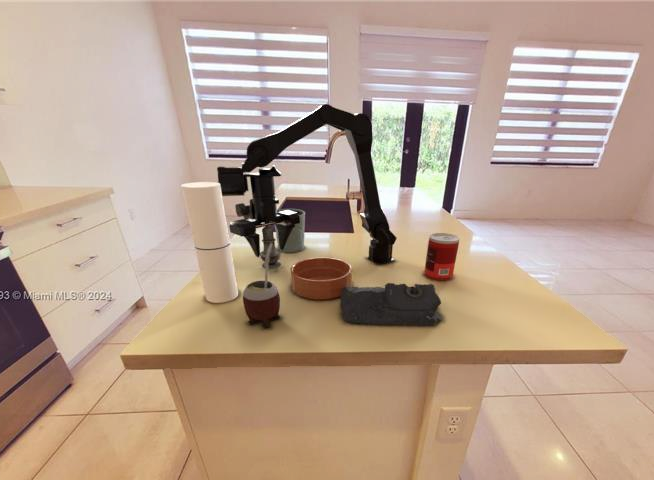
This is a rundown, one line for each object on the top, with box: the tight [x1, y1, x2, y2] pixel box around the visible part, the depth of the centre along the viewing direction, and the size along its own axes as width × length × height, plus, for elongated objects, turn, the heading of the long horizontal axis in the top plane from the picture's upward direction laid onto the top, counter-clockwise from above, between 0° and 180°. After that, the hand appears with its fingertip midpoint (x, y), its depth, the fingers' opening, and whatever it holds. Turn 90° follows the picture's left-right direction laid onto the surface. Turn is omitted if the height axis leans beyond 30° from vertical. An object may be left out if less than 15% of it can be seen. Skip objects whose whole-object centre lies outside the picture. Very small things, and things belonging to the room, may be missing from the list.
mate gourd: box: [242, 243, 281, 329], centre depth 62 cm, size 8×8×15 cm
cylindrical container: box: [180, 181, 239, 304], centre depth 68 cm, size 7×7×25 cm
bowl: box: [289, 257, 353, 300], centre depth 78 cm, size 15×15×5 cm
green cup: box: [274, 208, 306, 253], centre depth 102 cm, size 10×10×12 cm
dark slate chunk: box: [339, 282, 443, 327], centre depth 70 cm, size 15×22×5 cm
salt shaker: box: [260, 225, 282, 270], centre depth 86 cm, size 6×6×12 cm
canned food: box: [424, 232, 460, 281], centre depth 85 cm, size 8×8×11 cm
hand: (270, 253), depth 87 cm, fingers closed on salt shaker, 8 cm apart
